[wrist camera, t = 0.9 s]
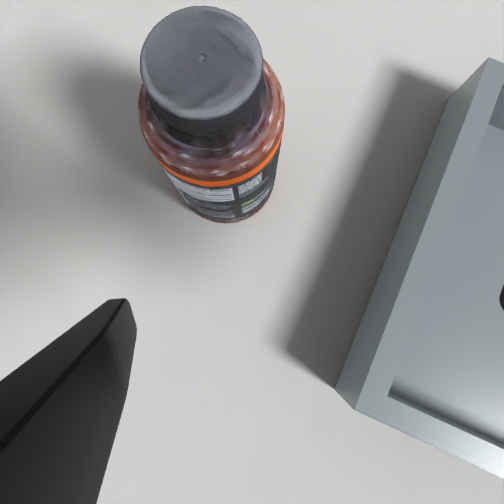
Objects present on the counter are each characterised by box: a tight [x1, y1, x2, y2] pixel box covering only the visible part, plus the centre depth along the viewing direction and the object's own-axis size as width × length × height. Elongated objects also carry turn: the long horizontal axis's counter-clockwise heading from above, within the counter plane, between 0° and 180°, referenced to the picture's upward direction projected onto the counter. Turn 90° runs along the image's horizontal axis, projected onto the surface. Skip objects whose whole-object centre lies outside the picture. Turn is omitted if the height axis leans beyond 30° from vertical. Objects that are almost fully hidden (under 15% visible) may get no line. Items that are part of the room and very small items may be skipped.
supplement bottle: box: [138, 6, 285, 223], centre depth 17 cm, size 6×6×11 cm
